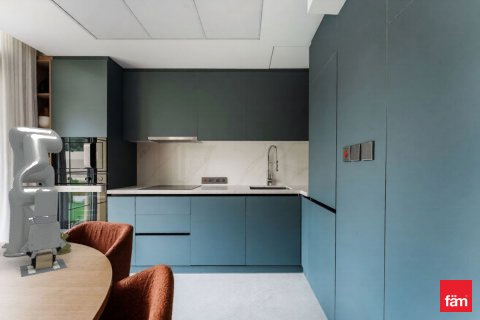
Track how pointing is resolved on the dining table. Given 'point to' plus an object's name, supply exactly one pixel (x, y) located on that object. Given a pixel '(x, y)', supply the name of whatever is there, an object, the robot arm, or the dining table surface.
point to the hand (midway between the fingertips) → (43, 265)
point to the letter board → (29, 269)
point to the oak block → (43, 260)
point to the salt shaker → (67, 247)
